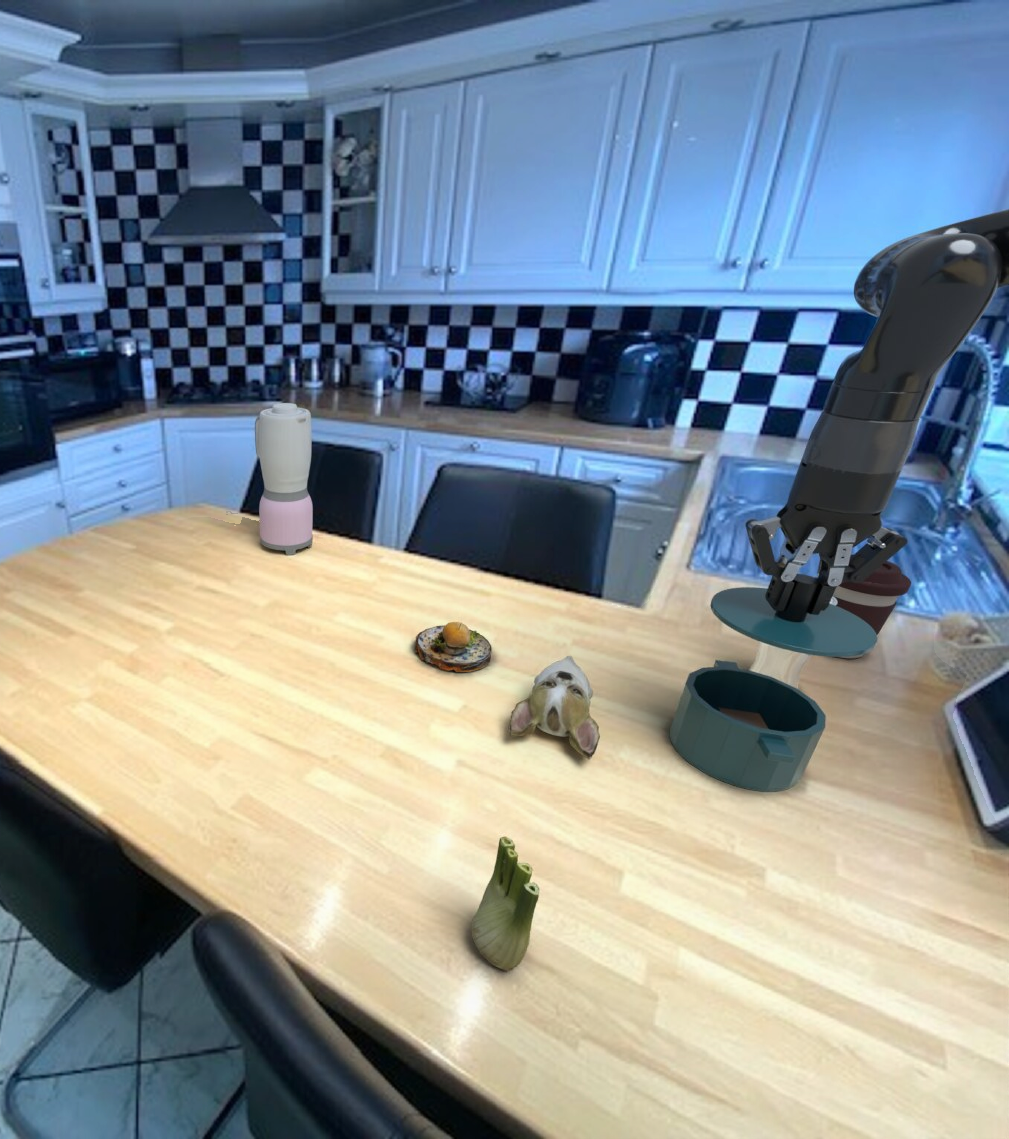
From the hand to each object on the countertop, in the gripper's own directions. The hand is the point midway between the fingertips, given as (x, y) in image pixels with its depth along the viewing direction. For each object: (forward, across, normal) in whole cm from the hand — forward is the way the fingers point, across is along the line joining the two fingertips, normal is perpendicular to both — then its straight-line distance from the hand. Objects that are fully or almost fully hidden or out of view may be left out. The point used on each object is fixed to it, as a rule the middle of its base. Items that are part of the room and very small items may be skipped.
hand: (792, 608), depth 70 cm
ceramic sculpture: (+22, +21, 0) cm, 30 cm away
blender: (+22, +75, -52) cm, 94 cm away
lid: (+2, 0, 0) cm, 2 cm away
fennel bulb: (+22, +29, +35) cm, 51 cm away
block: (+21, 0, -1) cm, 21 cm away
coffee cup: (+22, -23, -33) cm, 46 cm away
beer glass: (+22, -10, -19) cm, 30 cm away
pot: (+21, 0, -1) cm, 22 cm away
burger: (+22, +35, -15) cm, 44 cm away
